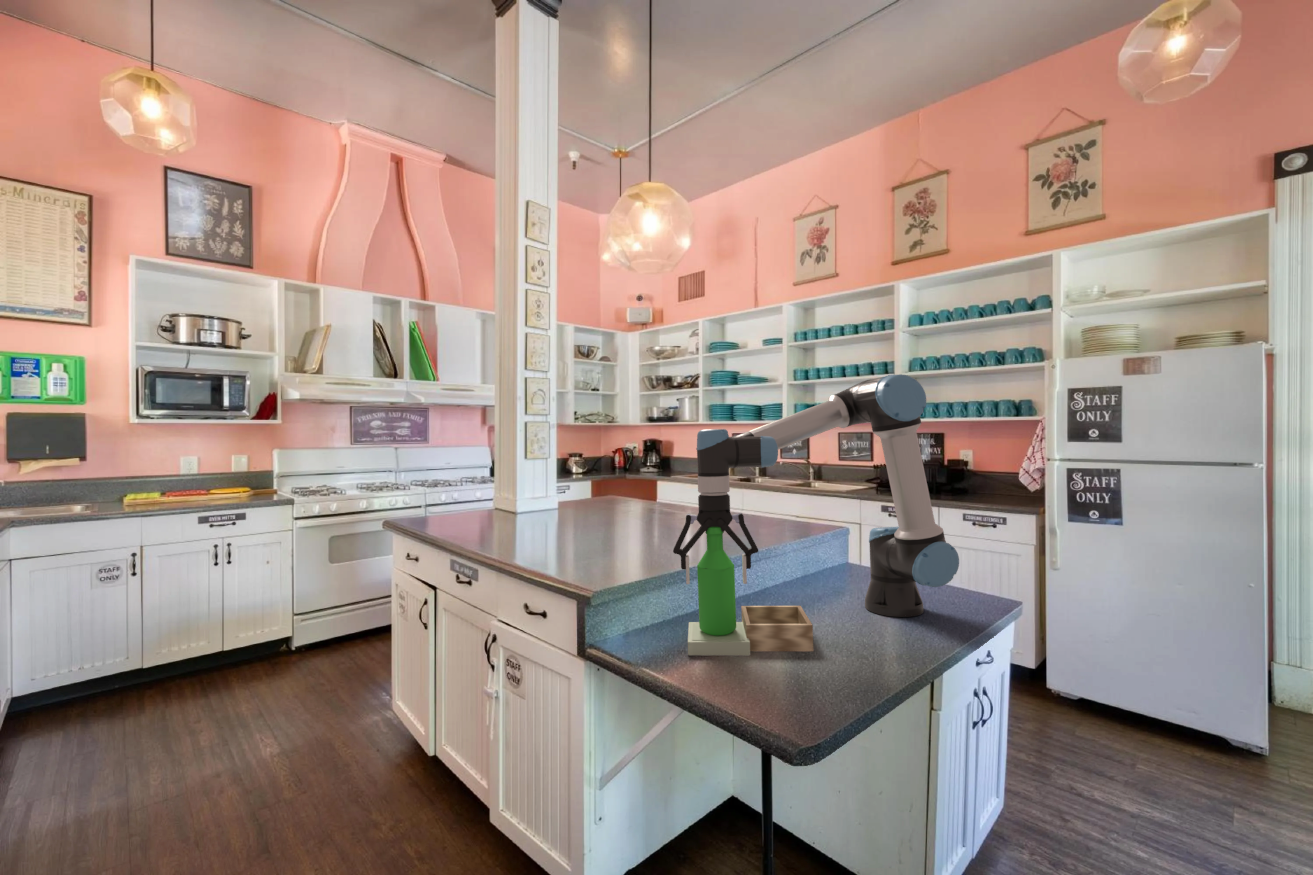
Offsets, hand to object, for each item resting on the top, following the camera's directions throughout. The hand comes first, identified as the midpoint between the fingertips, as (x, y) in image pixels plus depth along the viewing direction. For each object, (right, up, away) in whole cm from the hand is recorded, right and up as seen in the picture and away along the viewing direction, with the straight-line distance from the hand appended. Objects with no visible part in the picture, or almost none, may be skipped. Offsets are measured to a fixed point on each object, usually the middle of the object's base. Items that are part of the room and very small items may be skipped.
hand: (716, 582), depth 134 cm
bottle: (0, -12, 0) cm, 12 cm away
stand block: (0, -15, 0) cm, 15 cm away
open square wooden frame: (+15, -14, +2) cm, 20 cm away
